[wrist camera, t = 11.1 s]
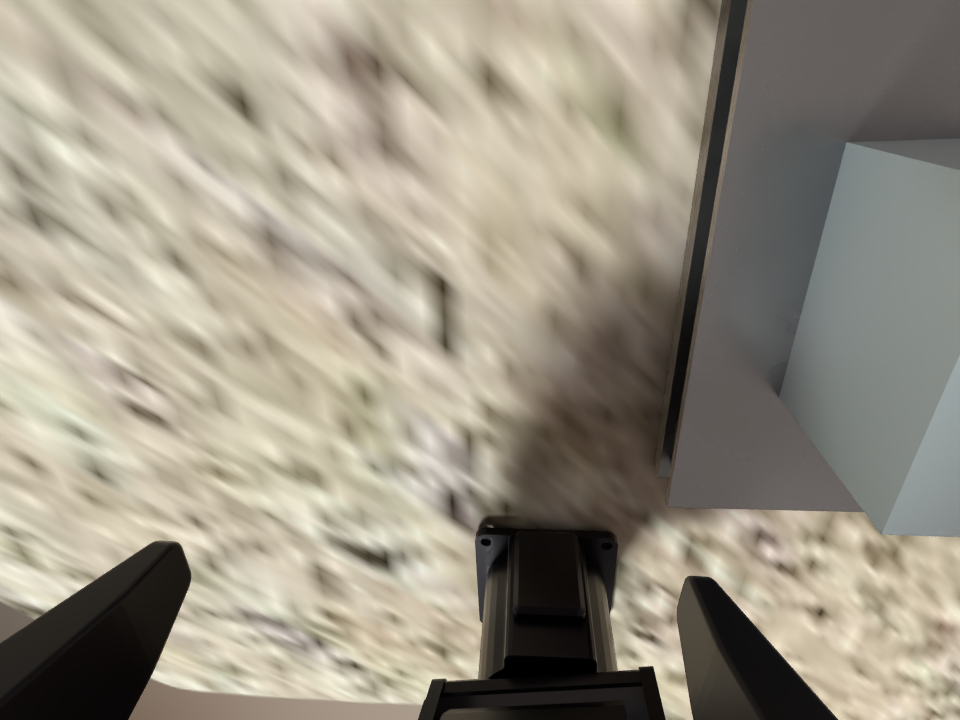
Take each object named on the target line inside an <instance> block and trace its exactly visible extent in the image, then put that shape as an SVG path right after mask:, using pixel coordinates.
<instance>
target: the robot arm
mask: <svg viewBox="0 0 960 720" xmlns="http://www.w3.org/2000/svg"><path fill="white" fill-rule="evenodd" d="M485 538H486V539H488V540H486V539H485ZM604 542H609V543H604ZM475 548H476V564H477V581H478V597H479V614H480V621H481V622H482V623H483V624H482V637H481V649H480V662H479V675H478V679H473V680H456V681H447V680H446V679H433V680H432V682H431V685H430V688H429V691H428V694H427V697H426V699H425V700H424V703H423V706H422V709H421V712H420V715H419V718H418V720H666V719H665V715H664V711H663V707H662V702H661V698H660V694H659V689H658V685H657V681H656V677H655V672H654V668H653V666H648V667H639V670H626V671H618V668H617V661H616V654H615V648H614V641H613V634H612V628H611V621H610V610H611V601H612V592H613V584H614V575H615V567H616V558H617V549H618V544H617V539H616V536H615V535H614V534H613V533H611V532H607V531H573V530H538V529H503V528H482V529H480V530H478V531H477V533H476V539H475ZM190 582H191V570H190V568H189V565H188V562H187V559H186V557H185V554H184V551H183V548H182V546H181V545H180V544H179V543H178V542H173V541H155V542H153V543H151V544H149V545H148V546H146V547H145V548H143V549H141V550H140V551H138V552H137V553H135V554H134V555H132V556H131V557H129V558H128V559H126V560H125V561H123V562H122V563H120V564H119V565H117V566H116V567H114V568H113V569H111V570H110V571H108V572H107V573H105V574H104V575H102V576H101V577H99V578H98V579H96V580H95V581H93V582H92V583H90V584H88V585H87V586H85V587H84V588H82V589H81V590H79V591H78V592H76V593H75V594H73V595H72V596H70V597H69V598H67V599H66V600H64V601H63V602H61V603H60V604H58V605H57V606H55V607H54V608H52V609H51V610H49V611H48V612H46V613H45V614H43V615H42V616H40V617H39V618H37V619H36V620H34V621H33V622H31V623H30V624H28V625H27V626H25V627H23V628H22V629H20V630H19V631H17V632H16V633H14V634H13V635H11V636H10V637H9V638H7V639H6V640H4V641H2V642H1V643H0V720H128V719H129V717H130V715H131V713H132V711H133V709H134V707H135V706H136V704H137V702H138V700H139V698H140V696H141V694H142V692H143V691H144V689H145V687H146V685H147V683H148V681H149V679H150V677H151V675H152V673H153V671H154V669H155V667H156V665H157V662H158V660H159V658H160V656H161V653H162V651H163V648H164V646H165V644H166V641H167V639H168V636H169V634H170V632H171V629H172V627H173V624H174V622H175V620H176V617H177V615H178V612H179V610H180V608H181V605H182V603H183V600H184V598H185V596H186V593H187V591H188V588H189V586H190ZM677 622H678V628H679V635H680V641H681V647H682V654H683V660H684V666H685V673H686V679H687V685H688V692H689V698H690V704H691V710H692V715H693V719H694V720H838V719H837V718H836V717H835V715H834V714H833V713H832V712H831V711H830V710H829V709H828V708H827V706H826V705H825V704H824V703H823V702H822V701H821V700H820V699H819V697H818V696H817V695H816V694H815V693H814V692H813V691H812V690H811V688H810V687H809V686H808V685H807V684H806V683H805V682H804V681H803V679H802V678H801V677H800V676H799V675H798V674H797V673H796V671H795V670H794V669H793V668H792V667H791V666H790V665H789V664H788V662H787V661H786V660H785V659H784V658H783V657H782V656H781V655H780V653H779V652H778V651H777V650H776V649H775V648H774V647H773V646H772V644H771V643H770V642H769V641H768V640H767V639H766V638H765V637H764V635H763V634H762V633H761V632H760V631H759V630H758V629H757V628H756V626H755V625H754V624H753V623H752V622H751V621H750V620H749V618H748V617H747V616H746V615H745V614H744V613H743V612H742V611H741V609H740V608H739V607H738V606H737V605H736V604H735V603H734V602H733V600H732V599H731V598H730V597H729V596H728V595H727V594H726V593H725V591H724V590H723V589H722V588H721V587H720V586H719V585H718V584H717V582H716V581H715V580H713V579H712V578H710V577H702V576H688V577H687V578H686V579H685V581H684V584H683V588H682V592H681V595H680V599H679V603H678V606H677Z"/></svg>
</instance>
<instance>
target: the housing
mask: <svg viewBox="0 0 960 720" xmlns="http://www.w3.org/2000/svg"><path fill="white" fill-rule="evenodd" d="M779 399H780V400H781V402H782V403H783V404H784V406H785V407H786V408H787V410H788V411H789V412H790V414H791V415H792V416H793V418H794V419H795V420H796V422H797V423H798V424H799V426H800V427H801V428H802V430H803V431H804V432H805V434H806V435H807V436H808V438H809V439H810V440H811V442H812V443H813V444H814V446H815V447H816V448H817V450H818V451H819V452H820V454H821V455H822V456H823V458H824V459H825V460H826V462H827V463H828V464H829V466H830V467H831V468H832V470H833V471H834V472H835V474H836V475H837V476H838V478H839V479H840V480H841V482H842V483H843V484H844V486H845V487H846V488H847V490H848V491H849V492H850V494H851V495H852V496H853V498H854V499H855V500H856V502H857V503H858V504H859V506H860V507H861V508H862V510H863V511H864V512H865V514H866V515H867V516H868V518H869V519H870V520H871V522H872V523H873V524H874V526H875V527H876V528H877V530H878V531H879V532H880V534H881V535H907V536H945V537H960V139H930V140H899V141H868V142H846V146H845V150H844V154H843V157H842V161H841V165H840V169H839V173H838V176H837V180H836V184H835V188H834V191H833V195H832V199H831V203H830V207H829V210H828V214H827V218H826V222H825V226H824V229H823V233H822V237H821V241H820V244H819V248H818V252H817V256H816V260H815V263H814V267H813V271H812V275H811V278H810V282H809V286H808V290H807V294H806V297H805V301H804V305H803V309H802V312H801V316H800V320H799V324H798V328H797V331H796V335H795V339H794V343H793V346H792V350H791V354H790V358H789V362H788V365H787V369H786V373H785V377H784V380H783V384H782V388H781V392H780V396H779Z"/></svg>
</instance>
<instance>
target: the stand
mask: <svg viewBox="0 0 960 720" xmlns="http://www.w3.org/2000/svg"><path fill="white" fill-rule="evenodd" d="M930 139H960V0H722V5H721V11H720V18H719V25H718V32H717V39H716V45H715V52H714V59H713V66H712V73H711V80H710V86H709V93H708V100H707V107H706V114H705V121H704V127H703V134H702V141H701V148H700V155H699V162H698V168H697V175H696V182H695V189H694V196H693V203H692V209H691V216H690V223H689V230H688V237H687V244H686V250H685V257H684V264H683V271H682V278H681V285H680V291H679V298H678V305H677V312H676V319H675V326H674V332H673V339H672V346H671V353H670V360H669V367H668V373H667V380H666V387H665V394H664V401H663V408H662V414H661V421H660V428H659V435H658V442H657V449H656V455H655V462H654V466H655V469H656V472H657V476H658V478H669V480H668V486H667V492H666V498H665V501H666V504H667V507H679V508H719V509H760V510H801V511H841V512H864V511H863V510H862V508H861V507H860V506H859V504H858V503H857V502H856V500H855V499H854V498H853V496H852V495H851V494H850V492H849V491H848V490H847V488H846V487H845V486H844V484H843V483H842V482H841V480H840V479H839V478H838V476H837V475H836V474H835V472H834V471H833V470H832V468H831V467H830V466H829V464H828V463H827V462H826V460H825V459H824V458H823V456H822V455H821V454H820V452H819V451H818V450H817V448H816V447H815V446H814V444H813V443H812V442H811V440H810V439H809V438H808V436H807V435H806V434H805V432H804V431H803V430H802V428H801V427H800V426H799V424H798V423H797V422H796V420H795V419H794V418H793V416H792V415H791V414H790V412H789V411H788V410H787V408H786V407H785V406H784V404H783V403H782V402H781V400H780V399H779V396H780V392H781V388H782V384H783V380H784V377H785V373H786V369H787V365H788V362H789V358H790V354H791V350H792V346H793V343H794V339H795V335H796V331H797V328H798V324H799V320H800V316H801V312H802V309H803V305H804V301H805V297H806V294H807V290H808V286H809V282H810V278H811V275H812V271H813V267H814V263H815V260H816V256H817V252H818V248H819V244H820V241H821V237H822V233H823V229H824V226H825V222H826V218H827V214H828V210H829V207H830V203H831V199H832V195H833V191H834V188H835V184H836V180H837V176H838V173H839V169H840V165H841V161H842V157H843V154H844V150H845V146H846V142H868V141H899V140H930Z"/></svg>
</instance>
